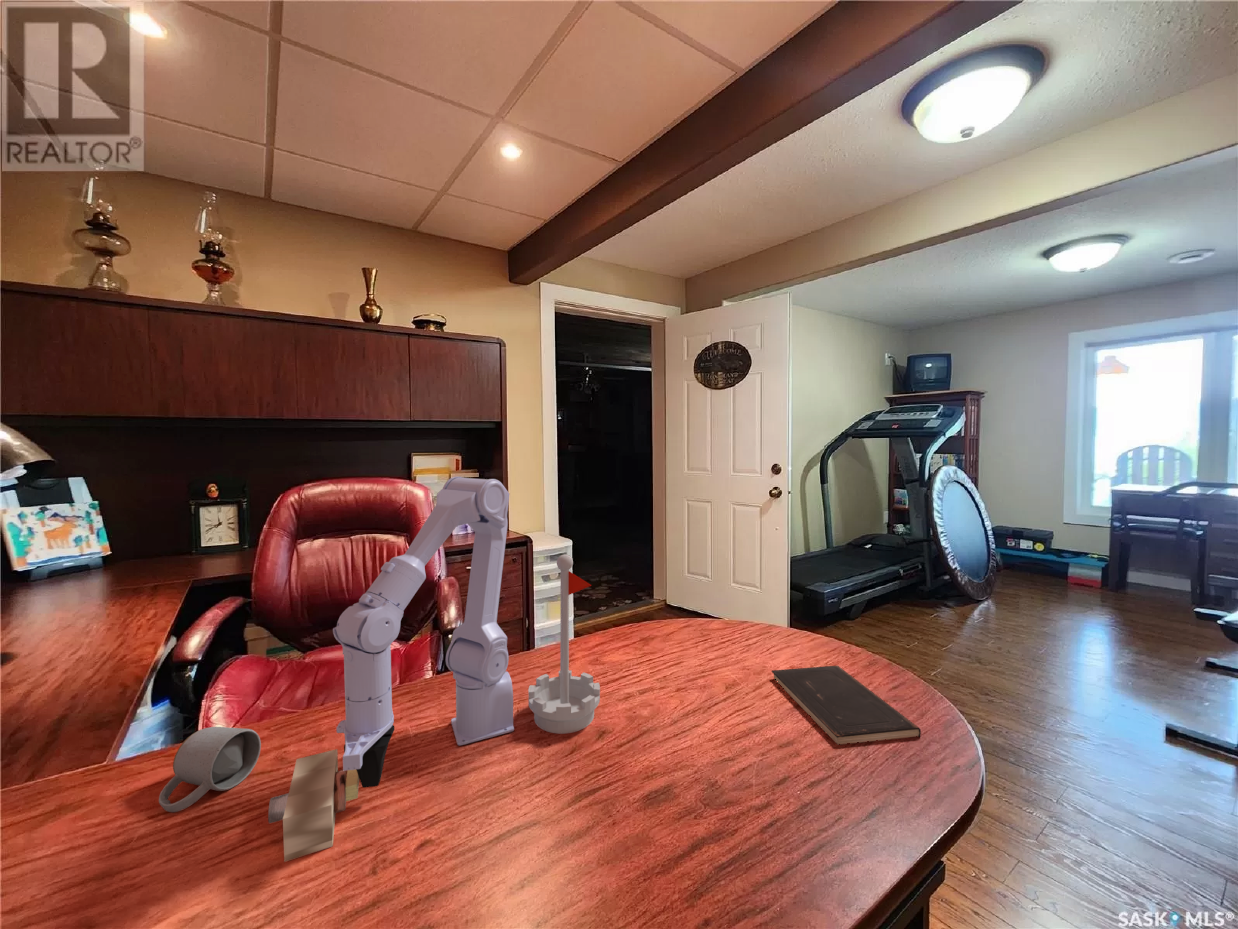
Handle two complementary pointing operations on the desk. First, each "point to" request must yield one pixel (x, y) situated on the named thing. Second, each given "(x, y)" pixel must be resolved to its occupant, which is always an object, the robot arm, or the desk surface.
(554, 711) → the flag stand
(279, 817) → the pin
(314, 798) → the hitch block
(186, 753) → the ceramic mug
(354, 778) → the bar
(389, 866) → the desk surface
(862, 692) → the hardcover book
